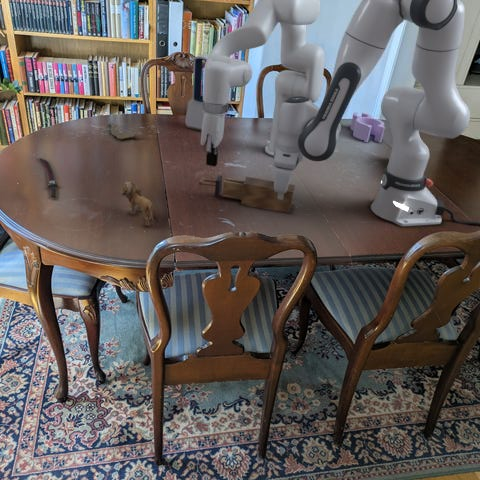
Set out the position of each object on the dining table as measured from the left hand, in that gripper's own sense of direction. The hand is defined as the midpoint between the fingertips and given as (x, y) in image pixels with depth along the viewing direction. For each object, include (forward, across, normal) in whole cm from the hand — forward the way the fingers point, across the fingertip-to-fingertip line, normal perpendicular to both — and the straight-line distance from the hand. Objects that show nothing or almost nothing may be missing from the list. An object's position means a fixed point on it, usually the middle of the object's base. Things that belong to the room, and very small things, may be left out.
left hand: (211, 164), depth 146 cm
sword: (+10, +9, -52) cm, 54 cm away
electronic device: (+10, -58, -20) cm, 62 cm away
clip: (+10, -85, +50) cm, 99 cm away
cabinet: (+10, 0, +19) cm, 22 cm away
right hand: (+5, 0, +23) cm, 24 cm away
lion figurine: (+10, +22, -15) cm, 28 cm away
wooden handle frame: (+10, 0, +7) cm, 12 cm away
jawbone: (+10, -40, -47) cm, 62 cm away
